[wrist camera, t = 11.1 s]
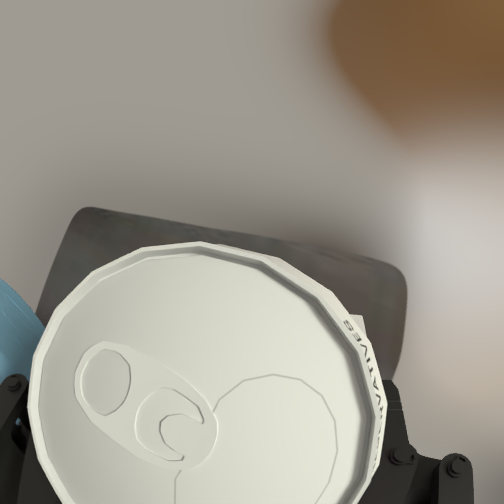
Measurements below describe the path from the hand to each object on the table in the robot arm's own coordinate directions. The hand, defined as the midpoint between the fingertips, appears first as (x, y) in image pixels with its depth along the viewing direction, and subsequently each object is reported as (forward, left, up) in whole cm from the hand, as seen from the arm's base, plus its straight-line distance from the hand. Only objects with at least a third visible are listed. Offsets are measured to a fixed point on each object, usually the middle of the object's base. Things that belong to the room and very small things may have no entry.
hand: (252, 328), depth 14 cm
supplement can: (-2, -3, -6) cm, 7 cm away
